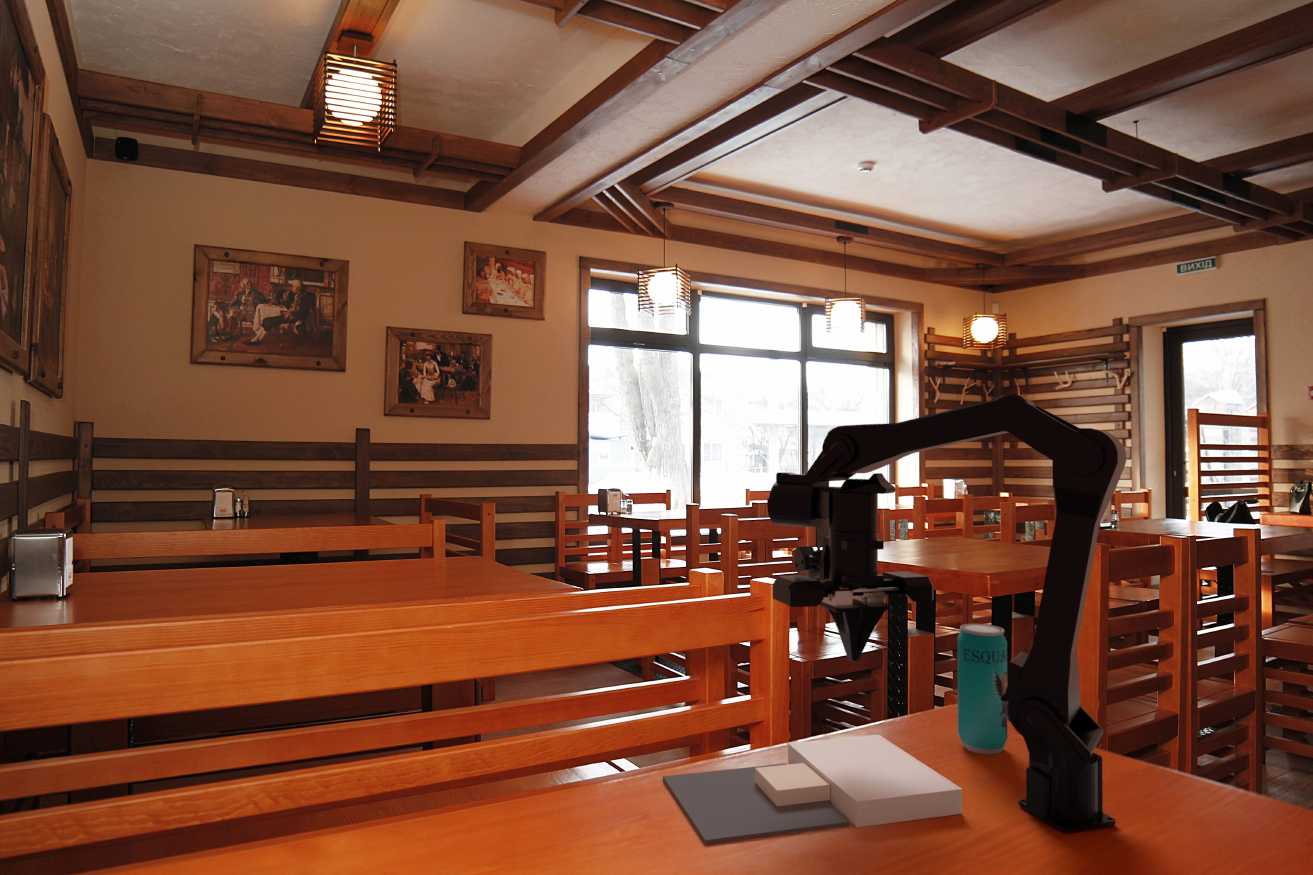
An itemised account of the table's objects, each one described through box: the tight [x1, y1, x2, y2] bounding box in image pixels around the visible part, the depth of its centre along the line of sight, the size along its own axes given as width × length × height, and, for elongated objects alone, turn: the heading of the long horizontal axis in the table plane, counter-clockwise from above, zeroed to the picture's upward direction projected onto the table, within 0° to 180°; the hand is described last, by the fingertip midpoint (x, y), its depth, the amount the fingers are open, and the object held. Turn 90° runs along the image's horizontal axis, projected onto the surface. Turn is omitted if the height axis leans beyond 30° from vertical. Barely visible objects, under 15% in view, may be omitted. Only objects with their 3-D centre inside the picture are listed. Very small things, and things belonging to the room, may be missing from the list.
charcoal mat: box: [662, 763, 851, 845], centre depth 82 cm, size 15×15×1 cm
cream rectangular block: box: [755, 763, 830, 806], centre depth 84 cm, size 6×6×2 cm
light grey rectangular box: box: [787, 734, 963, 828], centre depth 86 cm, size 12×16×2 cm
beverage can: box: [957, 623, 1008, 756], centre depth 98 cm, size 6×6×15 cm
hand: (853, 660), depth 93 cm, fingers closed
